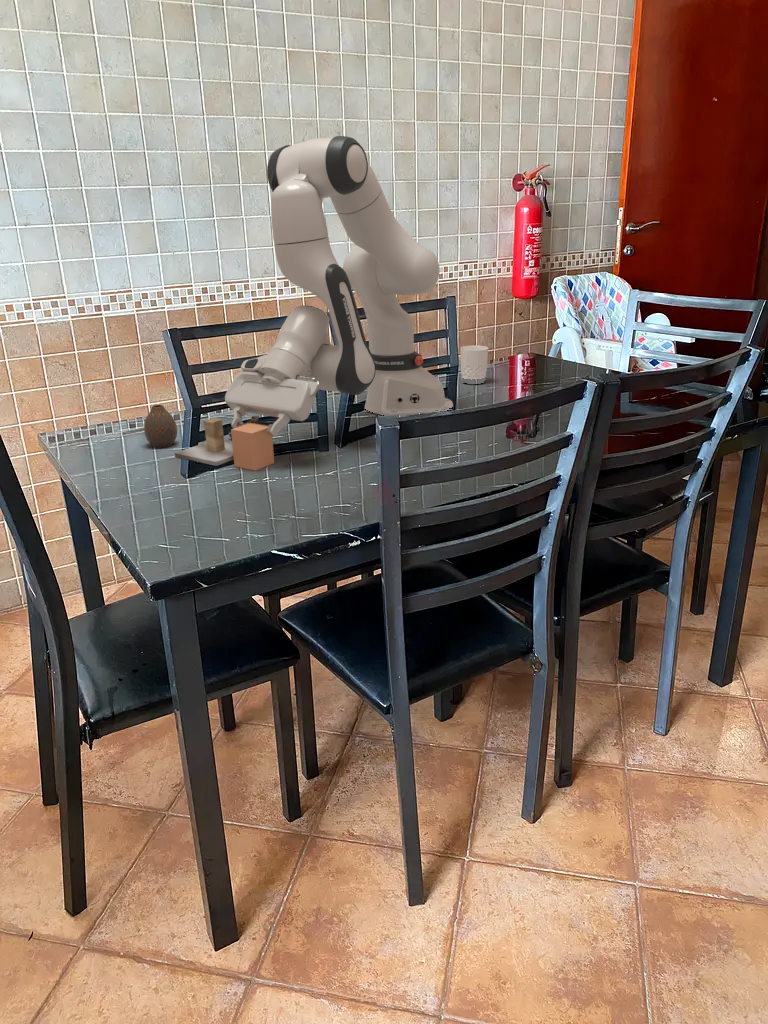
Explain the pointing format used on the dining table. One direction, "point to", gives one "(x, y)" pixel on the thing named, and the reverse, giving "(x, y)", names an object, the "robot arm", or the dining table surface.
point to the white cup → (474, 362)
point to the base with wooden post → (210, 446)
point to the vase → (160, 427)
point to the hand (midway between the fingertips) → (252, 431)
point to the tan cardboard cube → (252, 446)
